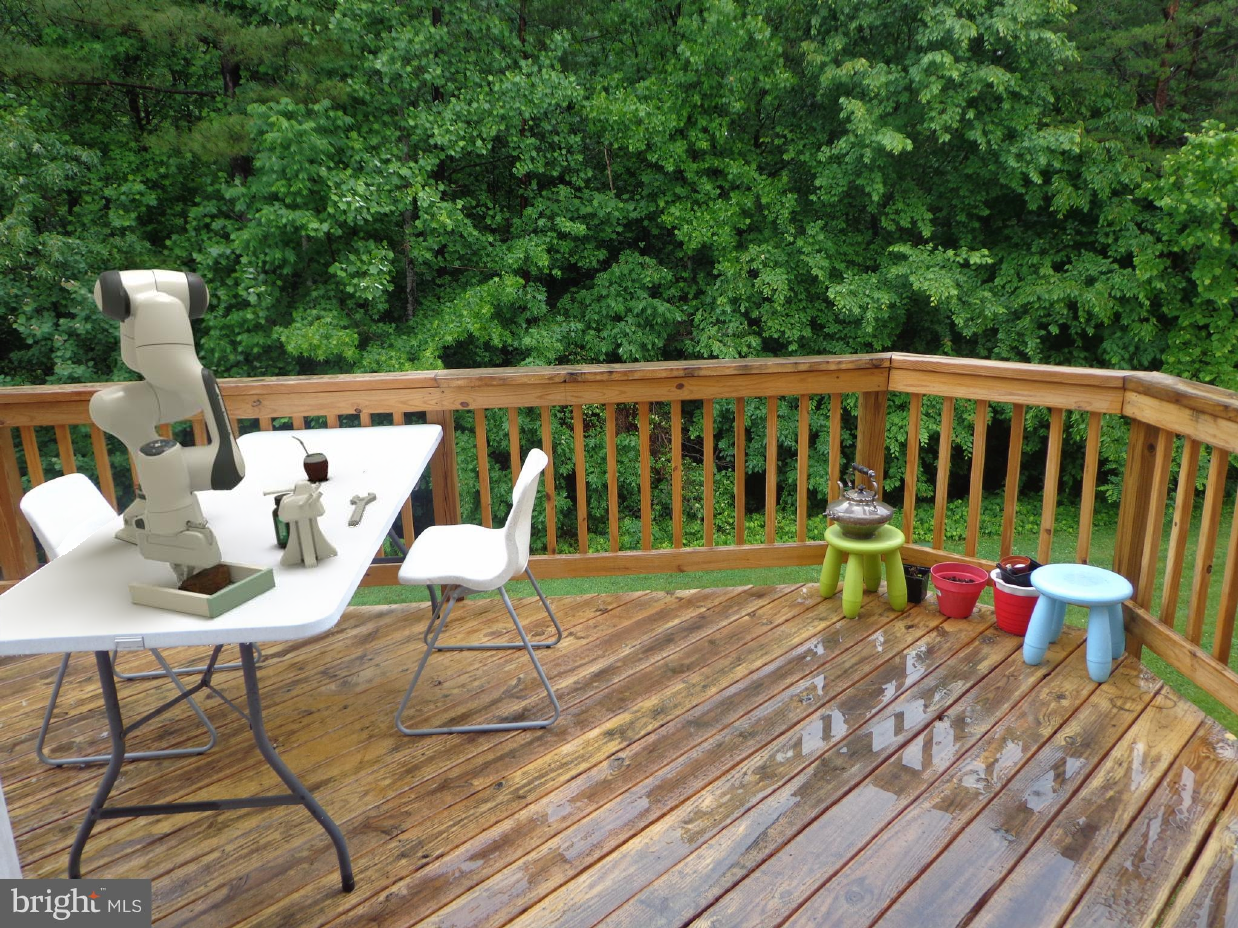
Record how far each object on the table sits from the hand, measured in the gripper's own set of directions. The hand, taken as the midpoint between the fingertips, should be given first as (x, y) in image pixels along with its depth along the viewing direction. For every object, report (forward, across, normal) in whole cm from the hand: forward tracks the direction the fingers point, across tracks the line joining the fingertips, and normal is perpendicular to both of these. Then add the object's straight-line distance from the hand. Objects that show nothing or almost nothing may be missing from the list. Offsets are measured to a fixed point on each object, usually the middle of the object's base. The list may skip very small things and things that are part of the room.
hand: (186, 581), depth 181 cm
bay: (+2, -4, 0) cm, 5 cm away
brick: (+3, -5, -1) cm, 5 cm away
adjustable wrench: (+3, +1, -53) cm, 53 cm away
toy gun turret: (+2, -12, -22) cm, 25 cm away
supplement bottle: (+2, 0, -29) cm, 29 cm away
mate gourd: (+2, +33, -73) cm, 80 cm away
